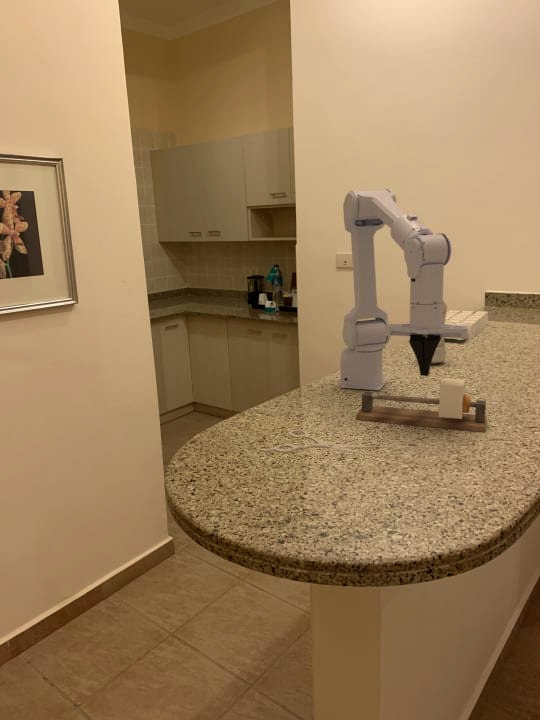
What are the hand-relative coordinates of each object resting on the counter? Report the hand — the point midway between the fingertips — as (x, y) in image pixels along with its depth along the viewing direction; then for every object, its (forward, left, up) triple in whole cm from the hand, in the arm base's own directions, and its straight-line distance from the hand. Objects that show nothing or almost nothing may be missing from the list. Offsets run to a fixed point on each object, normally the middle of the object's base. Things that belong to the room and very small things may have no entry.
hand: (424, 374), depth 101 cm
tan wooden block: (+5, 0, -7) cm, 9 cm away
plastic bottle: (-4, +44, -9) cm, 45 cm away
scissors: (-14, -17, -10) cm, 24 cm away
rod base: (-1, 0, -9) cm, 9 cm away
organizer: (-2, +86, -10) cm, 86 cm away
